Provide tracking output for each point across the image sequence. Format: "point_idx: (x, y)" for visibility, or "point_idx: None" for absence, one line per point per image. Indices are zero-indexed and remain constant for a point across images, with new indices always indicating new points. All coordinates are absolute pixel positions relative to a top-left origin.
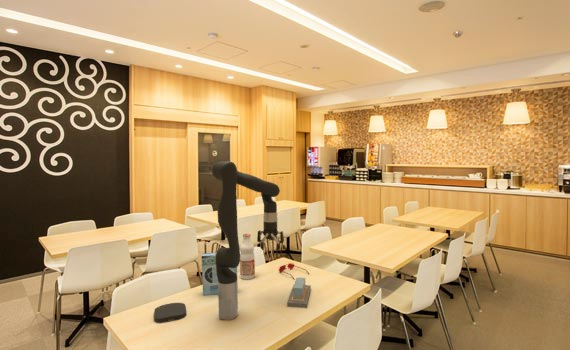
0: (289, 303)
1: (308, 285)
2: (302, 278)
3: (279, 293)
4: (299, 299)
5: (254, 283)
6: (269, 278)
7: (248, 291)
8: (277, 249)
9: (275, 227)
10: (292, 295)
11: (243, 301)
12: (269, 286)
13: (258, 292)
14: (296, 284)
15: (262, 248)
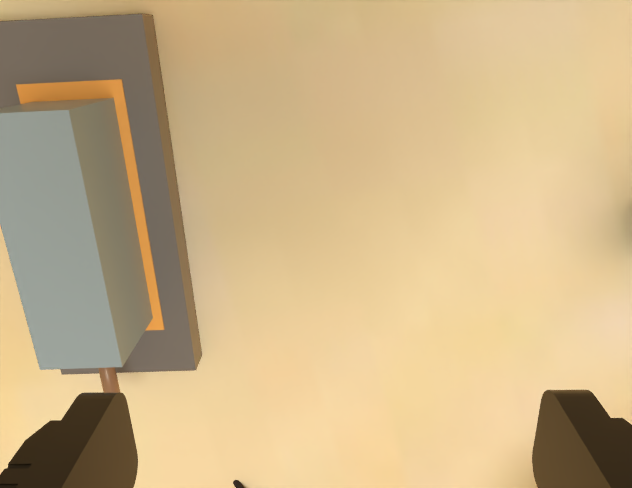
0: (122, 15)
1: (76, 370)
2: (59, 349)
3: (283, 244)
4: (57, 97)
5: (524, 383)
6: (426, 477)
7: (545, 238)
8: (93, 409)
9: None
10: (142, 169)
11: (551, 40)
12: (393, 350)
13: (457, 234)
14: (63, 201)
15: (583, 413)
